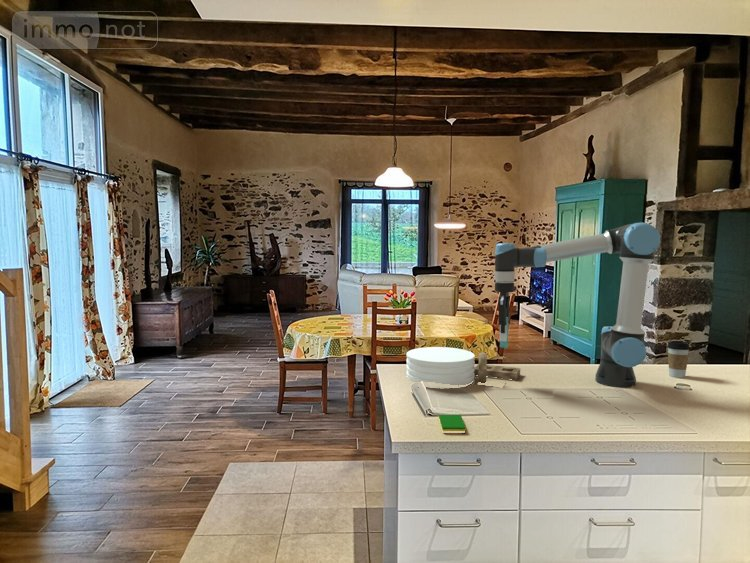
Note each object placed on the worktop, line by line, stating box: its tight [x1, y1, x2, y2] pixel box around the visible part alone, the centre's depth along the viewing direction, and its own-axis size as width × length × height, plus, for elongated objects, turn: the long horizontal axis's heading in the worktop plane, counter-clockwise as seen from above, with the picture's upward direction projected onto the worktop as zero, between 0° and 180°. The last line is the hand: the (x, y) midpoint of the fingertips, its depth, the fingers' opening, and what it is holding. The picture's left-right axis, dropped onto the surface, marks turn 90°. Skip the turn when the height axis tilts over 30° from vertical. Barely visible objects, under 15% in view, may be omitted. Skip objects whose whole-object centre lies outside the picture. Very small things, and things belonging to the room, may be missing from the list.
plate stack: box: [405, 346, 476, 386], centre depth 212 cm, size 28×28×12 cm
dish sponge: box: [439, 415, 467, 431], centre depth 162 cm, size 7×14×2 cm, turn 178°
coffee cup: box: [667, 340, 691, 379], centre depth 219 cm, size 8×8×15 cm
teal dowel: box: [499, 317, 509, 349], centre depth 205 cm, size 3×3×12 cm
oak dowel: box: [477, 352, 488, 383], centre depth 208 cm, size 3×3×12 cm
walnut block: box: [474, 363, 521, 381], centre depth 219 cm, size 18×10×4 cm, turn 65°
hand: (503, 340), depth 206 cm, fingers closed on teal dowel, 3 cm apart
